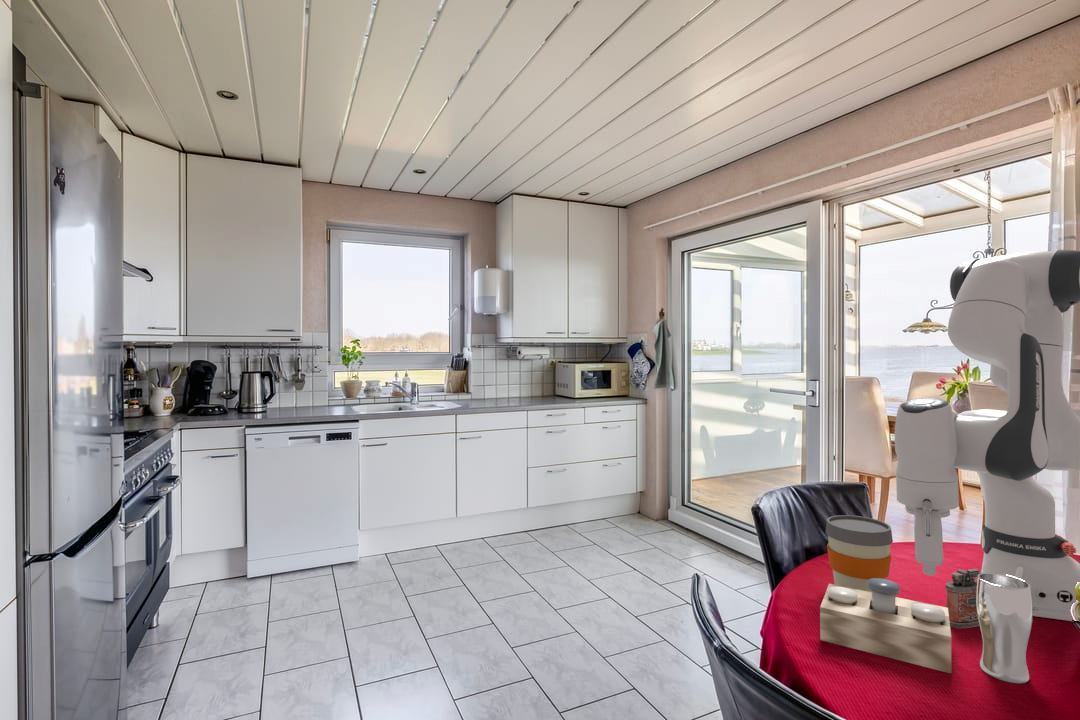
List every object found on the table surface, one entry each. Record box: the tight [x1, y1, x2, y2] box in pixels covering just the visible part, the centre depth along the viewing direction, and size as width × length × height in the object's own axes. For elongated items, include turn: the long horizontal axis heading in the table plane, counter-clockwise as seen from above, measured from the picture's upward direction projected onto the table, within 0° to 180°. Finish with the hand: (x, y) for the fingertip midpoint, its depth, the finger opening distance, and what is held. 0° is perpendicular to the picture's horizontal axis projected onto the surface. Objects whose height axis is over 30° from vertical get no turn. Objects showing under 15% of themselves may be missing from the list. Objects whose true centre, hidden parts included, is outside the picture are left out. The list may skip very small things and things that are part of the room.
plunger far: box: [828, 587, 857, 606], centre depth 102 cm, size 5×5×7 cm
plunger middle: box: [868, 578, 900, 615], centre depth 98 cm, size 5×5×7 cm
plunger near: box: [911, 603, 945, 625], centre depth 95 cm, size 5×5×7 cm
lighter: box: [944, 568, 981, 629], centre depth 104 cm, size 8×3×10 cm, turn 105°
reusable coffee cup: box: [825, 514, 894, 592], centre depth 118 cm, size 13×13×15 cm
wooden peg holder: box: [819, 583, 952, 674], centre depth 99 cm, size 19×12×6 cm, turn 55°
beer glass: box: [976, 572, 1034, 684], centre depth 88 cm, size 7×7×15 cm
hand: (929, 572), depth 95 cm, fingers closed
